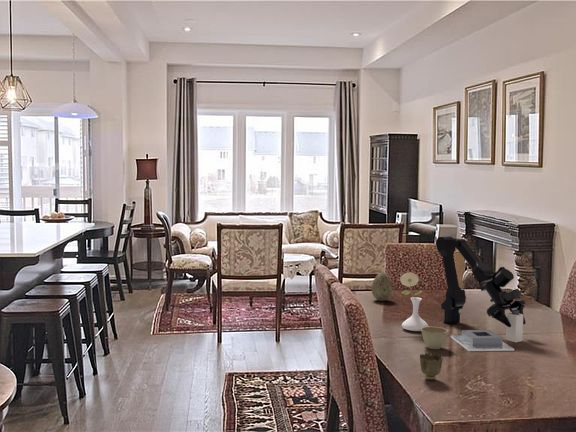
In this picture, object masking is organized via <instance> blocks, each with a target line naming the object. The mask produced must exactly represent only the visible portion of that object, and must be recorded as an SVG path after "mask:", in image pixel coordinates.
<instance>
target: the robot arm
mask: <svg viewBox="0 0 576 432" xmlns="http://www.w3.org/2000/svg"><path fill="white" fill-rule="evenodd" d="M467 242H468V241H467V240H466V239H464V238H454V237H453V236H450V235H449V236H448V235H447V236H445V235H444V236H438V237H437V238H436V240H435V247H436V248H437V252H438V253H439V254H440V255H441V257H442V262H443V268H444V269H443V270H444V274H445V280H446V285H447V289H446V293H445V300H444V301H443V302H442V303H441V304H440V306H441V309H442V310H444V314H443V324H451V325H459V324H460V323H461V315H462V314H461V312H460V310H462V309H463V308H464V305H465V304H466V302H467V300H466V299H467V297H466V290H465V289H462V288H461V287H460V284H459V279H458V274H457V267H456V262H455V258H454V254H455V250H457V251H458V252H459V254H460V255H461V256H462V257H463V259H464V261H466V263H467V264H468V265H469V266H470V269H471V273H472V275H473V278H474V279H475V281H477V282H478V283H484V284H481V288H480V291H481V292H485V291H486V292H487V294H488V296H489V297H490V302H491V303H492V302H493V304H492V305H491V306H489V307H488V308H487V309H486V315H487V316H488V317H490V318H492V319H495V320H496V321H498V322H500V323H501V324H503V325H505V326H506V327H507V326H508V327H511V324H510V322H509V320H508V318H507V314H506V311H510V313H512V310H519V314H523V325H526V324H527V322H526V319H525V315H524V312H523V311H524V308H525V306H526V305H527V304H526V302H525V300H523V299H521V298H522V292H521V290H520V289H519V288H515V289H512V291H504V290H503V289H502V288H506V286H507V285H509V284H510V282H512V281H513V280H514V278H515V276H514V273H512V272H511V270H509V269H507V268H505V266H499V268H498V270H496V271H493V269H492V268H491V267H490V266H488V265H487V264H486V263H484V262H482V261H481V259H480V258H479V257H478V255H476V253H475V252H474V250H472V248H471V247H470V245H469V244H468V243H467Z"/></svg>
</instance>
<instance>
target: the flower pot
mask: <svg viewBox="0 0 576 432" xmlns="http://www.w3.org/2000/svg"><path fill="white" fill-rule="evenodd" d="M420 332H421V336H422V338H423V342H424V344H425V345H426V347H427V349H430V350H440V349H441V348H442V347H443V345H444V344H445V342H446V339H447V337H448V332H449V331H448V329H446V328H444V327H440V326H439V327H438V326H429V327H424V328H422V329H421V331H420Z"/></svg>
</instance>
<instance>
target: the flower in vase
mask: <svg viewBox="0 0 576 432" xmlns="http://www.w3.org/2000/svg"><path fill="white" fill-rule="evenodd" d="M399 281H400V283H401V285H403V286H406V287H409V290H408V289H405V290H402V291H401V293H400V294H403V295H406V296H407V295H410V294H411V296H412V297H410V298H409V299H410V301H411V302H412V315H410V317H408V318H407V319H406V320H404V321H403V322H402V323H401V327H402V328H403V329H405V330H407V331H412V332H422V331H421V329H422V328H424V327H430V326H429V324H428V323H427V322H426V321H425V320H424V319H422V318H421V316H420V315H419V306H420V304H421V301H422V300H423V298H421V297H418V295H420V294H422V292H423V290H420V291H416V292H415V293H414V294H413V292H412V289H411V288H412V287H414V286H417V284H418V282H420V278H419V276H418V274H417V273H416V274H415V273H414V272H411V271H409V272H408V271H407V272H406V273H403V274H402V276H401V277H400V278H399ZM415 296H417V297H415Z"/></svg>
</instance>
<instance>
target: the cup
mask: <svg viewBox="0 0 576 432" xmlns="http://www.w3.org/2000/svg"><path fill="white" fill-rule="evenodd" d="M443 359H444V356H442V355H441V354H439V353H435V354H434V353H433V352H432V353H429V352H425V353H422V354H421V353H420V354H419V362H420V369H421V370H420V371H421V372H422V373H423V375H424V379H425V380H427V381H430V382H431V381H435V380H436V379H437V376H438V375H439V374H440V373H441V370H442V366H443Z"/></svg>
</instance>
